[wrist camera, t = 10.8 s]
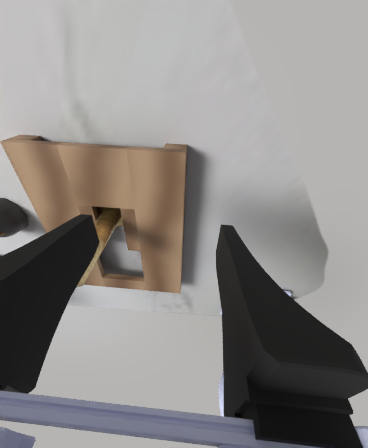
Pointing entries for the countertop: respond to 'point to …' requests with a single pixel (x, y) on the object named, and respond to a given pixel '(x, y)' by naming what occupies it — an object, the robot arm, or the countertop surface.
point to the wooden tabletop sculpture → (11, 218)
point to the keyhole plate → (112, 199)
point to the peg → (103, 233)
